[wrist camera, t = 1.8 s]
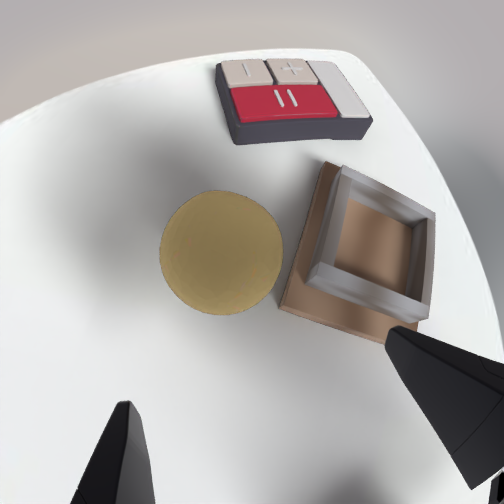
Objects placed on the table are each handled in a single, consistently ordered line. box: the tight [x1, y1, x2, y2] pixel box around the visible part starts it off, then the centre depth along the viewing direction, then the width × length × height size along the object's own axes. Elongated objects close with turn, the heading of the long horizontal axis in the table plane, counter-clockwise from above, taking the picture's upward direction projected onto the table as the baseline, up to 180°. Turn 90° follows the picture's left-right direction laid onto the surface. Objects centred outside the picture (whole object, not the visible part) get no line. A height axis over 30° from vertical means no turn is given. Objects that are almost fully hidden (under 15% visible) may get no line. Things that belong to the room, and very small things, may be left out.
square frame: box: [279, 161, 435, 345], centre depth 23 cm, size 12×14×4 cm
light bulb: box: [160, 191, 283, 315], centre depth 17 cm, size 6×6×10 cm
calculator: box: [215, 59, 373, 145], centre depth 28 cm, size 11×4×15 cm
